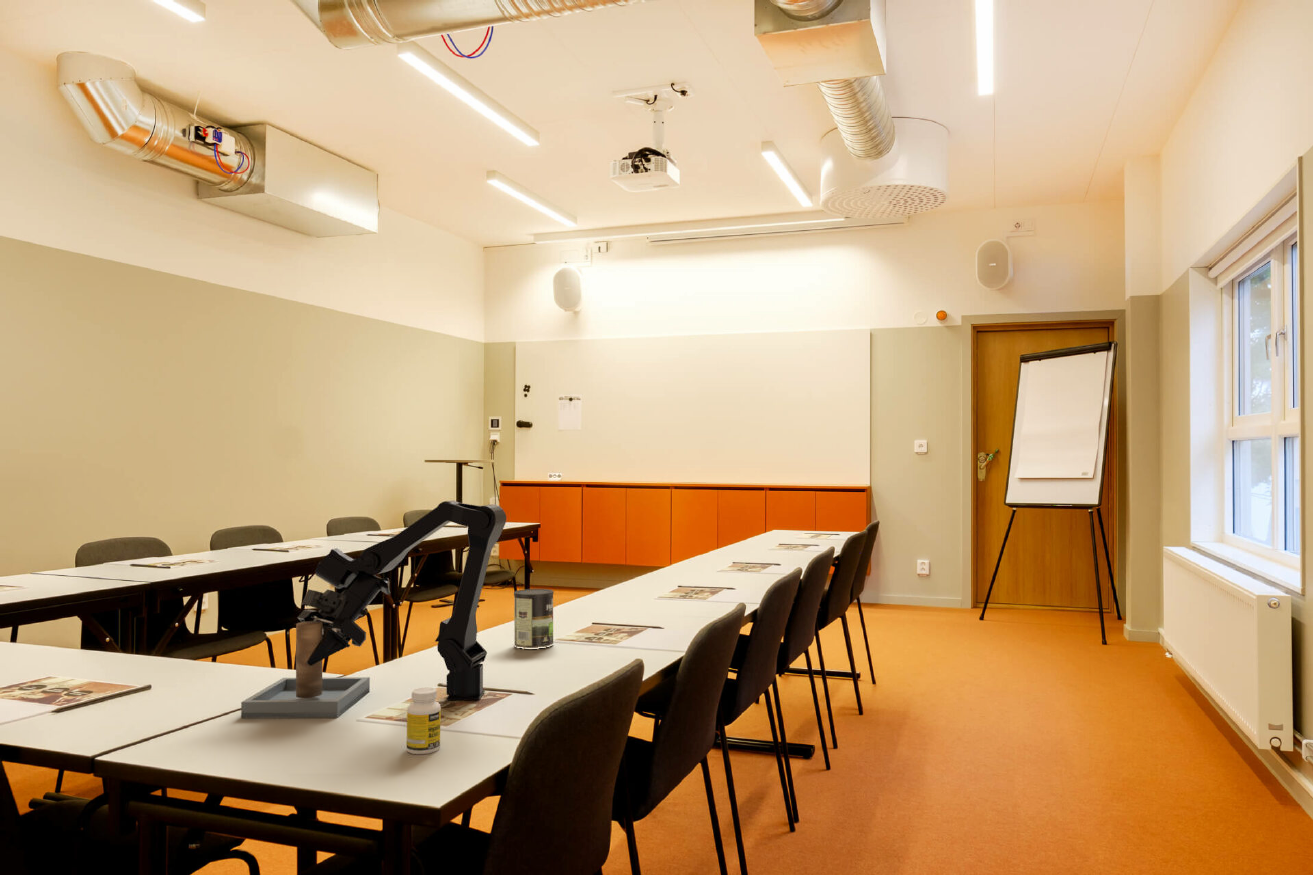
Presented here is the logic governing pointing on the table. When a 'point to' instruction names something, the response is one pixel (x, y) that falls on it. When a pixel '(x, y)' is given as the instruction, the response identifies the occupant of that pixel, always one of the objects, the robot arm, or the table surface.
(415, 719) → the supplement bottle
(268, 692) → the bin
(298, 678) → the canister
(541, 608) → the coffee can
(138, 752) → the table surface
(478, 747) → the table surface
